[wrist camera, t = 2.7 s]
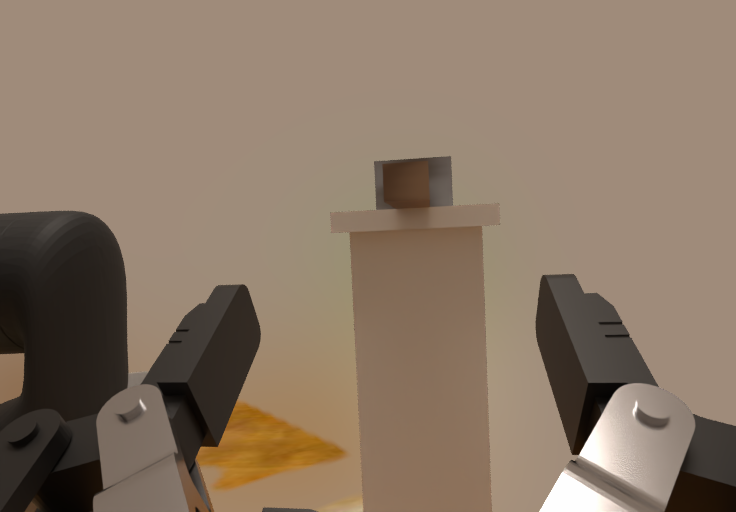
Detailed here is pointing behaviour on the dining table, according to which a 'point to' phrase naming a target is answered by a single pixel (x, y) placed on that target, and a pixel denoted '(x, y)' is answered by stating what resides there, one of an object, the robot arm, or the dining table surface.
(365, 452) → the stand
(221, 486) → the dining table surface
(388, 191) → the mallet
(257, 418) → the dining table surface
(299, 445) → the dining table surface
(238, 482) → the dining table surface
